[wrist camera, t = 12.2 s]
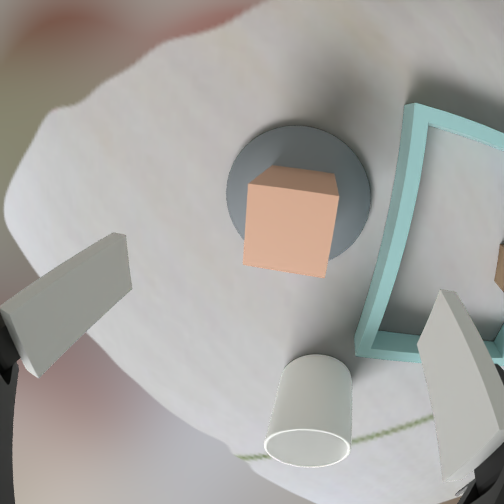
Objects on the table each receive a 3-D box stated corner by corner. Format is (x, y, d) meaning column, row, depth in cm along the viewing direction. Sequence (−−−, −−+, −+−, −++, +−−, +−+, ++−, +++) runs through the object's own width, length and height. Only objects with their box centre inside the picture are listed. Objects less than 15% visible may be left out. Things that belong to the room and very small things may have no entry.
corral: (560, 166, 16) (577, 172, 13) (496, 349, 25) (504, 365, 23) (404, 105, 19) (414, 102, 17) (354, 336, 29) (355, 356, 26)
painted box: (270, 164, 24) (245, 183, 16) (334, 173, 23) (339, 196, 16) (265, 223, 26) (240, 264, 19) (325, 232, 25) (324, 278, 18)
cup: (363, 361, 30) (366, 437, 21) (326, 419, 35) (319, 483, 26) (291, 344, 31) (275, 420, 22) (267, 405, 36) (249, 469, 27)
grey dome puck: (379, 138, 21) (380, 138, 21) (354, 272, 26) (354, 275, 26) (232, 119, 23) (230, 119, 23) (225, 251, 28) (223, 254, 28)
